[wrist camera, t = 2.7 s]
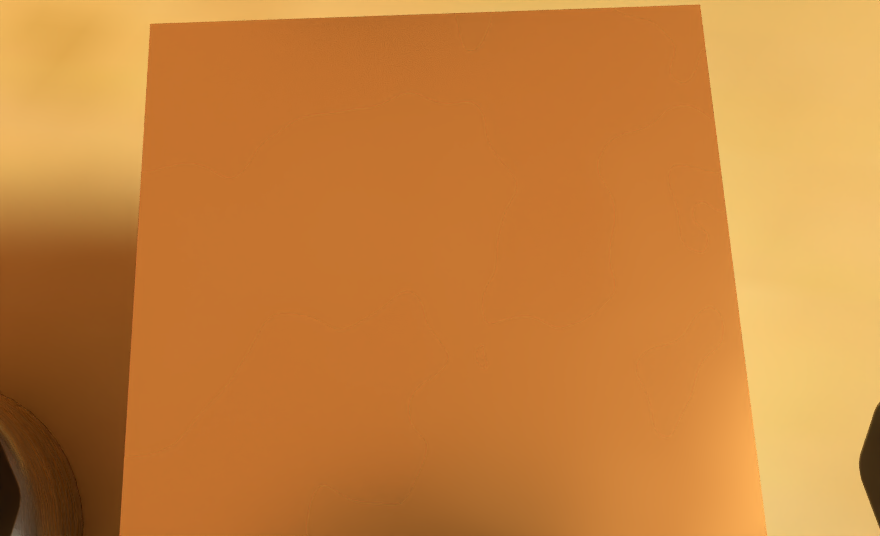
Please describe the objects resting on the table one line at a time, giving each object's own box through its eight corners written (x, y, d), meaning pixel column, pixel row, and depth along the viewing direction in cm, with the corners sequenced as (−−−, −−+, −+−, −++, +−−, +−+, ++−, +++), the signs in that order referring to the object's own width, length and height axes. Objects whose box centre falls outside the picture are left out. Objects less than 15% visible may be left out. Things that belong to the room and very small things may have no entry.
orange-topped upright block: (584, 521, 17) (774, 591, 7) (307, 530, 17) (114, 614, 7) (564, 255, 18) (700, 4, 8) (310, 263, 18) (149, 23, 8)
